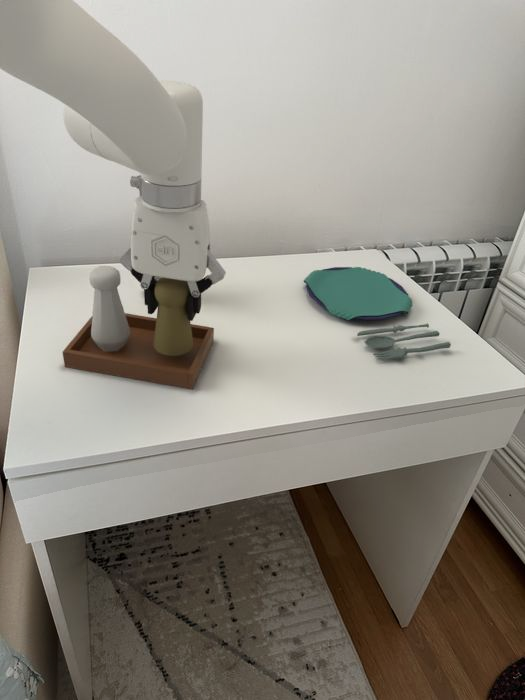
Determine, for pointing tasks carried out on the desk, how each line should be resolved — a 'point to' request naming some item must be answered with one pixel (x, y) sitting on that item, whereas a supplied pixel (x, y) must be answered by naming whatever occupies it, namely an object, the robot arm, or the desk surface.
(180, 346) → the pepper shaker
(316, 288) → the cutlery set
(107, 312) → the salt shaker
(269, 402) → the desk surface
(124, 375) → the tray
